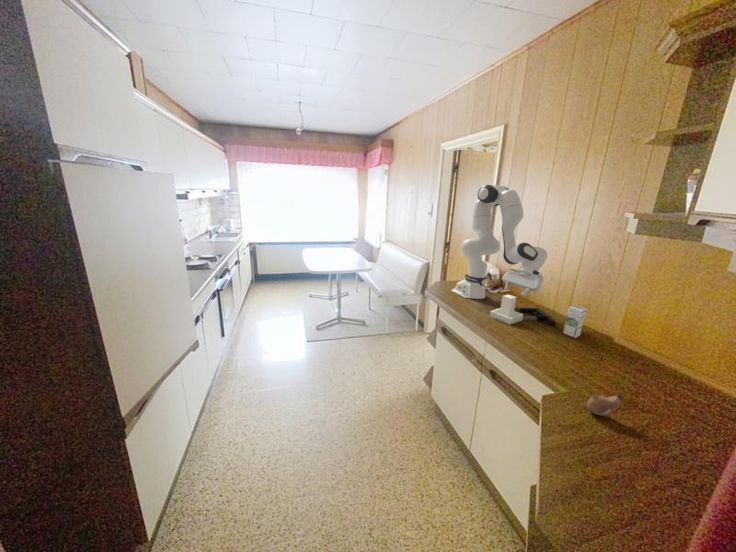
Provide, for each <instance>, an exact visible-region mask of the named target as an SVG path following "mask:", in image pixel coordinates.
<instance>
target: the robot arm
mask: <svg viewBox="0 0 736 552" xmlns="http://www.w3.org/2000/svg"><path fill="white" fill-rule="evenodd" d="M494 206H495V207H498V206H499V209H500V213H501V220H502V221H501V222H502V225H501V231H502V240H503V254H502V255H503V259H504V261H505V262H506V263H507V264H508V265H511V266H514V265H517V264H519V263H520V262H521V263H522V264H521V266H520V267H519V268H518V270H517V269H514V268H511V269H507V271H506V272H505V273H504V274H503V276H501V280H502V282H503V283H505V286H504V290H505V291H509V289H510V288H509V286H510V285H511V286H515V287H518V288H521V289H524V290H521V292H520V296H523V297H524V296H525V295H527V294H528V293H531V292H533V293H537V292H539V291H540V289H541V288H542V285H543V282H544V279H545V278H544V276H543V274H542V272H541V271H540V269H542V267H543V265H544V264H545V263H546V261H547V259H548V252H547V251H546V249H544V248H543V247H540V246H533V245H532V244H530V243H528V242H521V243H519V244H516V239H515V230H516V228H517V227H518V225H519V224H520V222H521V221H522V220H523V218H524V208H523V205H522V202H521V199H520V196H519V194H518V192H517V190H515V189H510V188H508V187H507V186H504V185H498V184H486V185H485V184H484V185H482V186H481V187H480V188H479V189H478V191H477V199H476V200H475V201H474V205H473V209H472V224H471V226H472V230H473V231H474V232H475V233H476V234H478V238H477V237H475V238H474V237H473V238H468V239H464V240H463V241H462V243H461V251H462V253H463V254H464V255H465V256H466V258H467V261H468V269H467V270H468V271H467V272H468V273H466V274H464V277H465V278H464V279H461V280H460V281H458V282H457V283H456V284H455V287H454V288H452V289H451V292H453V293H454V294H457V295H459V296H461V297H463V298H465V299H474V300H479V299H480V300H483V299H485V298H486V294H485V292H486V291H485V285H486V281H487V269H488V265H487V263H486V262H484V261H483V259H482V257H483V256H491V255H495V254H497V253H498V252H499V251H500V249H501V243H500V241H499V240H498V239H497V238H496V237H495V236H494V233H493V230H492V209H493V207H494ZM530 291H531V292H530Z"/></svg>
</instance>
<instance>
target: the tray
mask: <svg viewBox="0 0 736 552" xmlns="http://www.w3.org/2000/svg"><path fill="white" fill-rule="evenodd" d="M500 308H501V307H499V308H496V309H492V310H490V311H489V318H491V317H492V319H493V320H496V319H497V320H496V321H499V322H501V321H502V323H503V324H506V323H507V324H506V325H508V324H509V326H511V325H514V324H516V323H518V322H521V321H523V320H522V318H523V316H524V314H523V313H522V312H521V313H520V312H518V311H515V310H514V314H513V317H511V318H509V317H507V316H504V315H501V314H500Z"/></svg>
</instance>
